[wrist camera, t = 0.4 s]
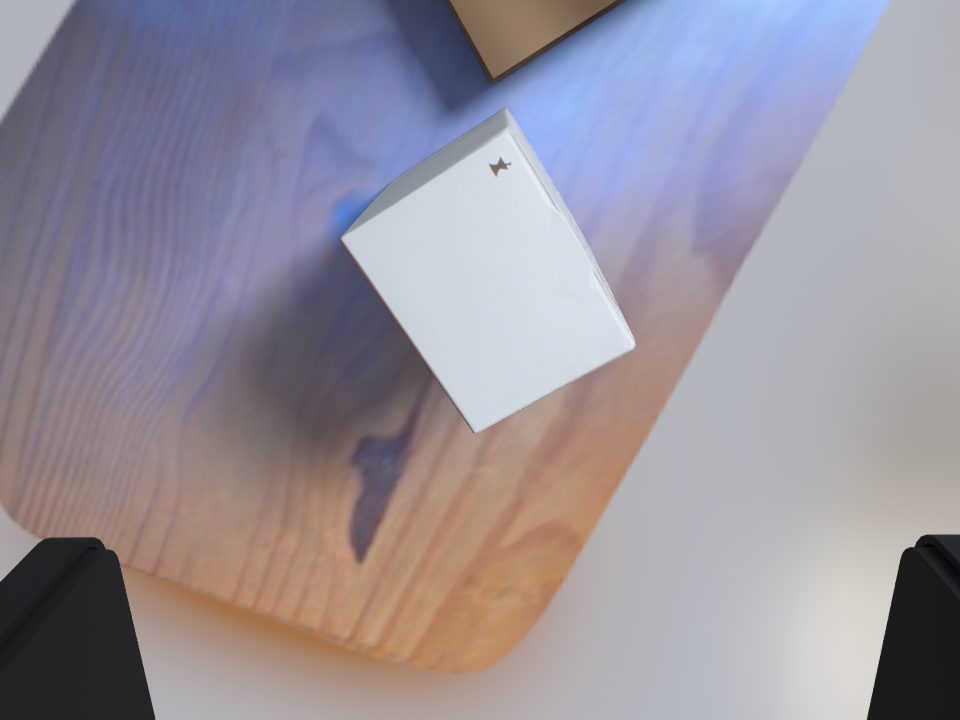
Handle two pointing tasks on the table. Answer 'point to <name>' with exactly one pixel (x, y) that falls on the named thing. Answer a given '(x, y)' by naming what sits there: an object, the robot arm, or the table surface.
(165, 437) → the table surface
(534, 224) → the small box
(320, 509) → the table surface
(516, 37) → the plinth
